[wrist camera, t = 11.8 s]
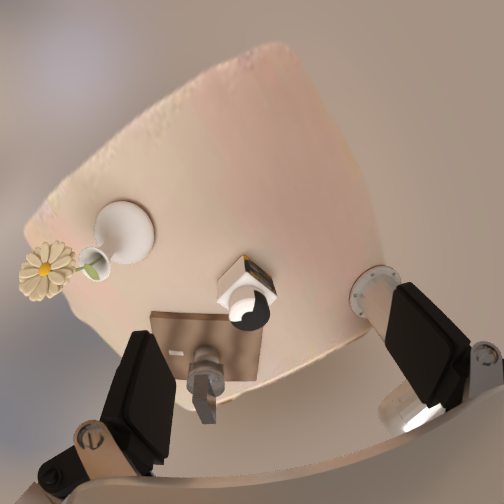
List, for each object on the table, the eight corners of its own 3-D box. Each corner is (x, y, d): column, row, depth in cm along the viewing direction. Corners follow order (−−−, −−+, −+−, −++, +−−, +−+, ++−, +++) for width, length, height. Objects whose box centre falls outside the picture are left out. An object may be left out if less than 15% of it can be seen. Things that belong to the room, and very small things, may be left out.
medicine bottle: (271, 277, 50) (284, 315, 39) (245, 302, 52) (250, 344, 41) (243, 253, 48) (248, 288, 37) (216, 280, 49) (214, 320, 38)
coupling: (183, 360, 47) (178, 401, 38) (220, 357, 47) (221, 399, 38) (195, 390, 51) (193, 429, 42) (228, 388, 51) (230, 427, 42)
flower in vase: (166, 215, 44) (111, 294, 21) (144, 270, 47) (95, 370, 24) (101, 185, 40) (5, 234, 18) (85, 241, 44) (6, 318, 21)
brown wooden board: (262, 314, 53) (267, 337, 47) (255, 374, 60) (258, 397, 54) (151, 311, 51) (143, 333, 44) (162, 372, 58) (158, 394, 51)
